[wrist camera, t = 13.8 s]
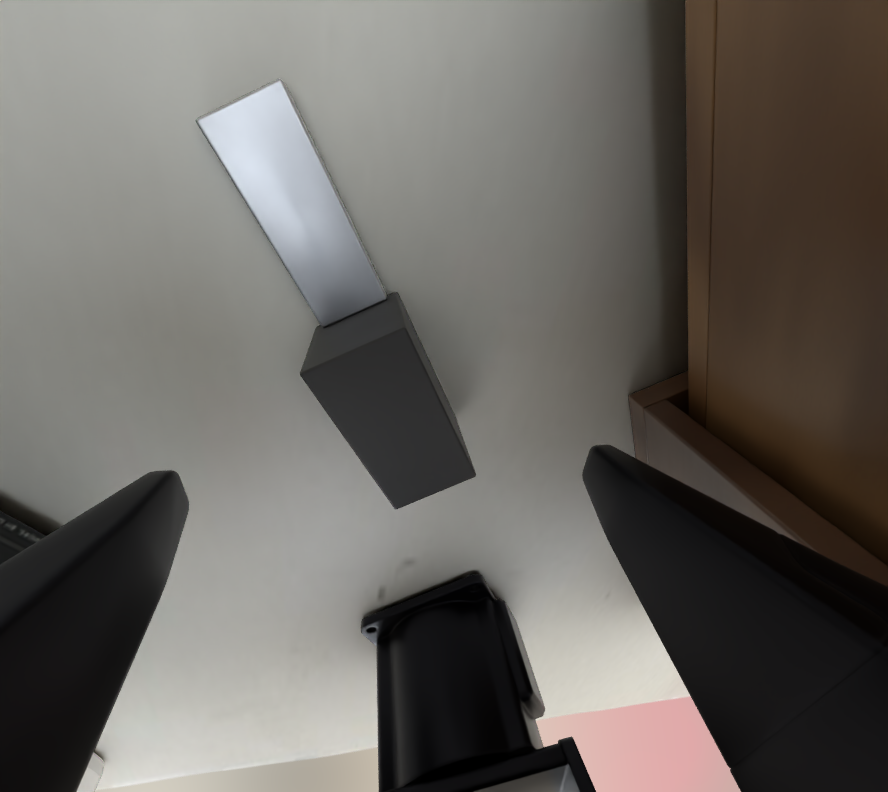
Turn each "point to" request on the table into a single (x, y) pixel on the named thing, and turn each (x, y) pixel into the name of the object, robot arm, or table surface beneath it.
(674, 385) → the cabinet
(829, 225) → the drawer
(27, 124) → the table surface
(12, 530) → the headset box
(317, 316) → the knife
